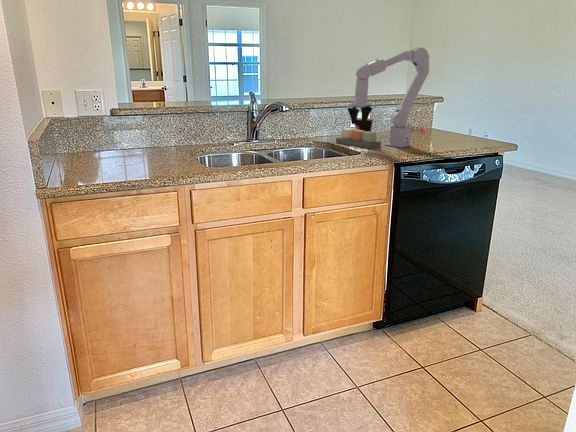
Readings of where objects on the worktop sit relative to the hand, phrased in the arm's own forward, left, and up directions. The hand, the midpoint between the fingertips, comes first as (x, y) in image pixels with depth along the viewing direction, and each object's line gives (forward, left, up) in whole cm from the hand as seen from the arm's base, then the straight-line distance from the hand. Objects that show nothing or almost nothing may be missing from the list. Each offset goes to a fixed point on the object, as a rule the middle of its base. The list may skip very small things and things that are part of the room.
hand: (358, 123), depth 208 cm
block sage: (-7, 0, -8) cm, 10 cm away
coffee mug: (+10, -16, -10) cm, 21 cm away
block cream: (+6, 0, -7) cm, 10 cm away
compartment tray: (0, 0, -10) cm, 10 cm away
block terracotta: (0, 0, -8) cm, 8 cm away
